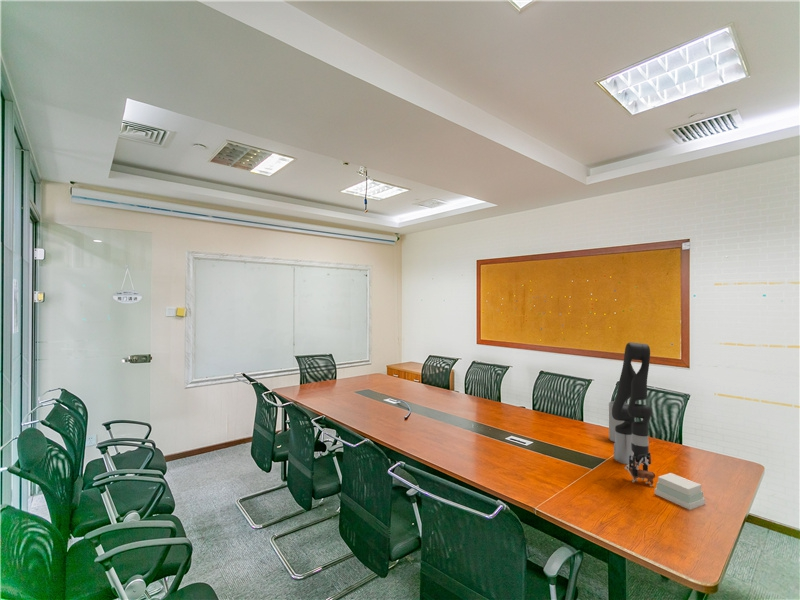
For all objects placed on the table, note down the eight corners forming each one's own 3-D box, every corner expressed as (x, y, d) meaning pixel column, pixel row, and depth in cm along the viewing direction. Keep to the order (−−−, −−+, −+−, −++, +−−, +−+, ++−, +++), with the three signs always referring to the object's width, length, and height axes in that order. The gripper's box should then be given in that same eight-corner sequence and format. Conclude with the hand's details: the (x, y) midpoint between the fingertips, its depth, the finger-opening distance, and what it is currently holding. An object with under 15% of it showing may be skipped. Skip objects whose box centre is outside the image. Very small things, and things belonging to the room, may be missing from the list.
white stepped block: (654, 494, 176) (654, 476, 176) (669, 489, 181) (669, 471, 181) (690, 510, 162) (689, 490, 162) (705, 504, 167) (704, 485, 167)
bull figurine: (624, 477, 193) (624, 462, 193) (655, 485, 185) (655, 469, 185) (623, 480, 190) (623, 465, 190) (654, 488, 181) (654, 472, 181)
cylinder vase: (632, 440, 245) (632, 403, 245) (628, 446, 236) (628, 407, 236) (611, 436, 253) (611, 400, 254) (607, 441, 244) (606, 404, 244)
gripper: (641, 438, 194) (641, 468, 193) (623, 442, 188) (624, 474, 187) (655, 443, 187) (656, 474, 187) (638, 447, 181) (639, 480, 181)
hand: (640, 474), depth 187 cm, fingers open, 8 cm apart
